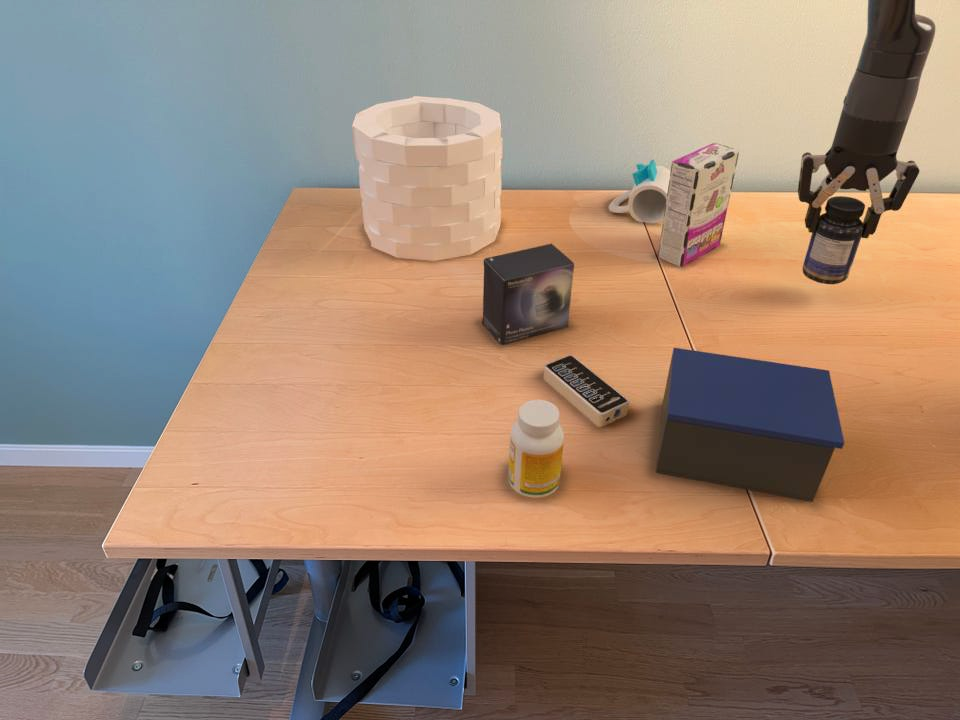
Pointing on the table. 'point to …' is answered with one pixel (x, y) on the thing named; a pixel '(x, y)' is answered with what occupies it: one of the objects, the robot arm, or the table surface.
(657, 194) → the mug
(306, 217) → the table surface
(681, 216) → the candy bar box
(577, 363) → the multiport hub
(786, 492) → the storage box
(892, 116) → the robot arm
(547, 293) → the small box
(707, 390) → the storage lid
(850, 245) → the pill bottle
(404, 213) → the basket
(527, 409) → the supplement bottle
